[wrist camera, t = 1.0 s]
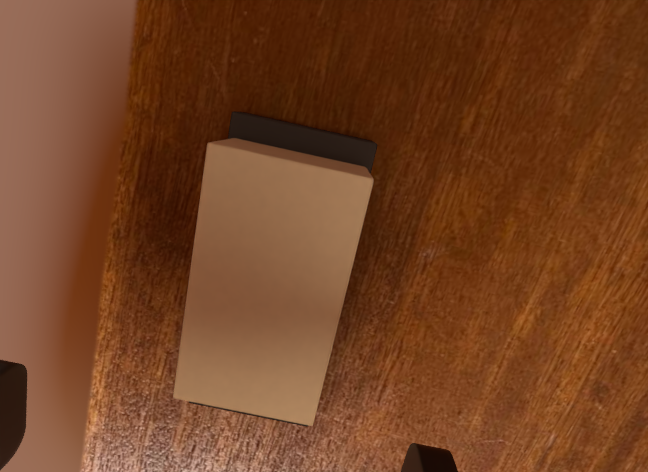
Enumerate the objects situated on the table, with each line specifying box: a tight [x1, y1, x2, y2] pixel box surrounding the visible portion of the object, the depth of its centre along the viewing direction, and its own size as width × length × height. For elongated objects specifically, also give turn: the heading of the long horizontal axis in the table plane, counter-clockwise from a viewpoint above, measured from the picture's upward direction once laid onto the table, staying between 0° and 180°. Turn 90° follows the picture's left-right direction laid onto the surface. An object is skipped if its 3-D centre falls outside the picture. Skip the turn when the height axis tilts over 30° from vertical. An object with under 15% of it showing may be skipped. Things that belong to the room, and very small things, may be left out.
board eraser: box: [173, 112, 377, 426], centre depth 18 cm, size 14×6×6 cm, turn 168°
